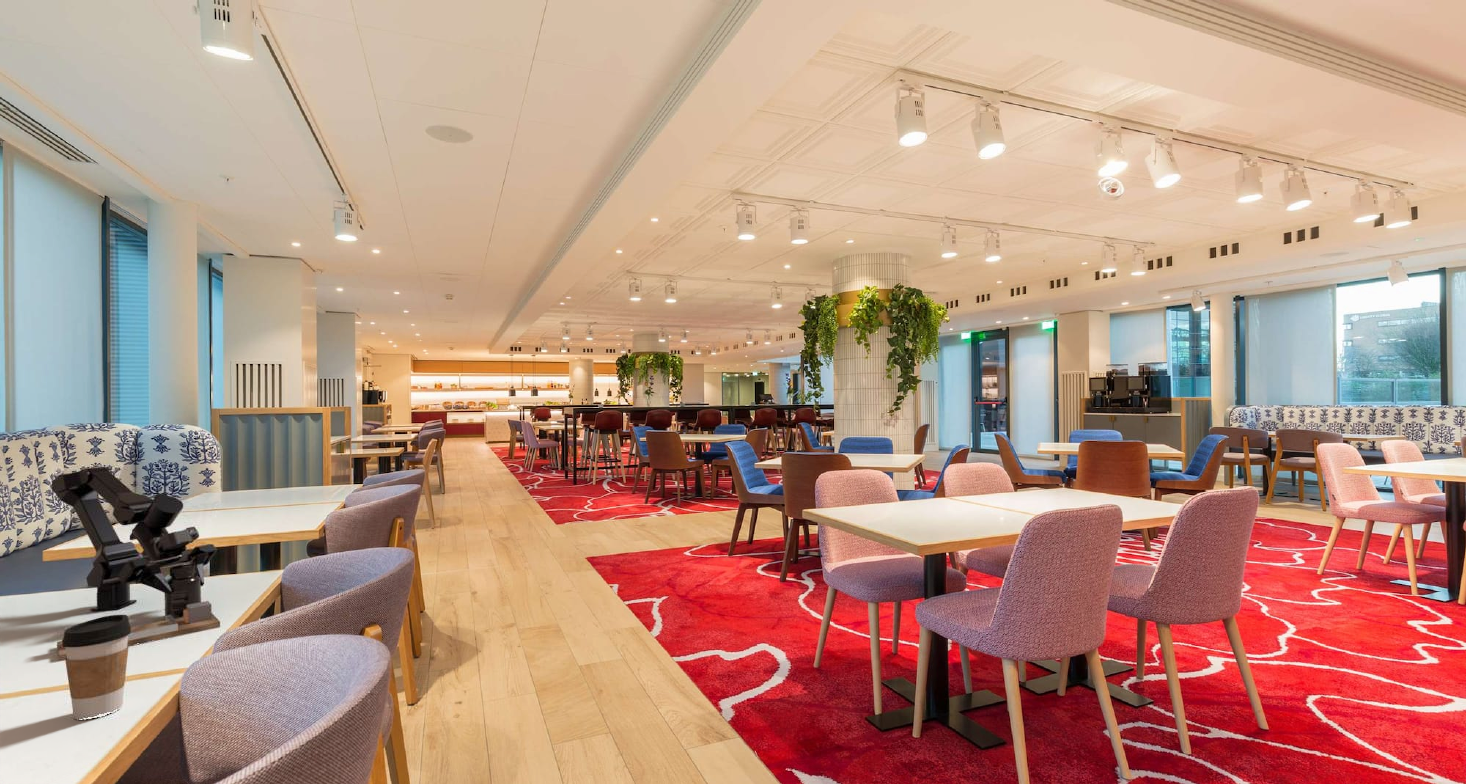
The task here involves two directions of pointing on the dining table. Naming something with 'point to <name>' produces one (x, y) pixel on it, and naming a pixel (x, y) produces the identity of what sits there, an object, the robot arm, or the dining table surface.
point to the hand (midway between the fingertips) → (186, 589)
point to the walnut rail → (168, 626)
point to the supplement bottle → (182, 590)
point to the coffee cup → (97, 664)
